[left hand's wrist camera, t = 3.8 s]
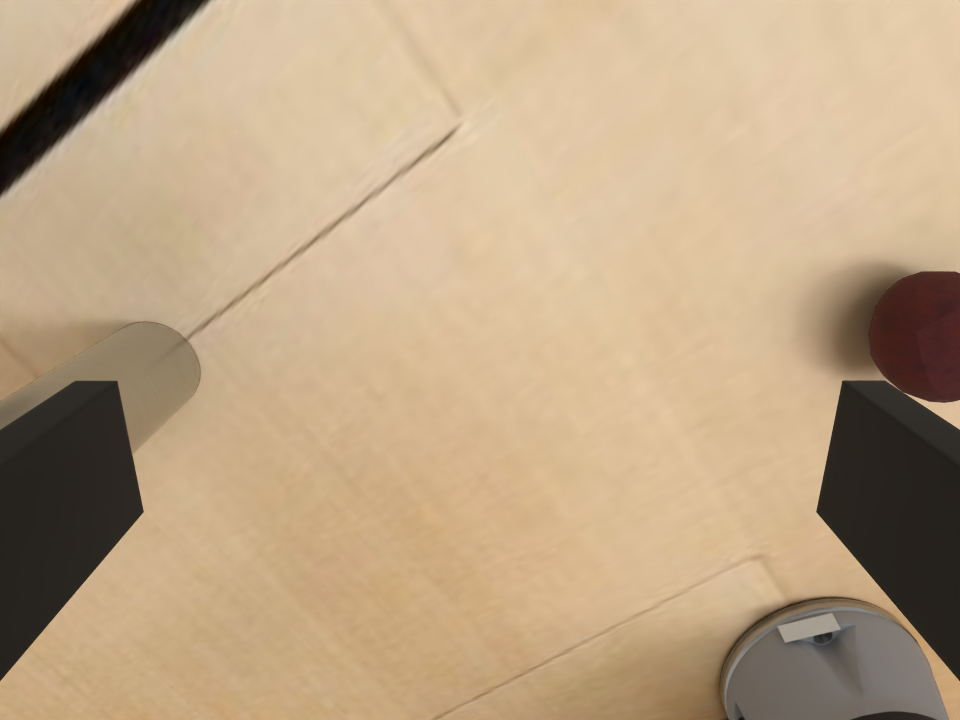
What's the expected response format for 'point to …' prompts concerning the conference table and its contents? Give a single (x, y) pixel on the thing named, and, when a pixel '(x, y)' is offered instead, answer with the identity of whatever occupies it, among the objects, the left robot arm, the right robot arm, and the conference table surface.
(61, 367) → the bottle
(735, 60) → the conference table surface
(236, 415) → the conference table surface
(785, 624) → the right robot arm
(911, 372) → the dark maroon ball
